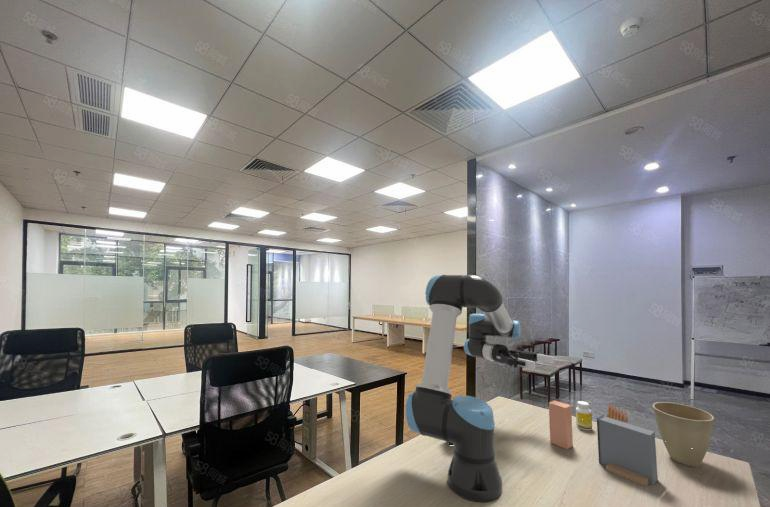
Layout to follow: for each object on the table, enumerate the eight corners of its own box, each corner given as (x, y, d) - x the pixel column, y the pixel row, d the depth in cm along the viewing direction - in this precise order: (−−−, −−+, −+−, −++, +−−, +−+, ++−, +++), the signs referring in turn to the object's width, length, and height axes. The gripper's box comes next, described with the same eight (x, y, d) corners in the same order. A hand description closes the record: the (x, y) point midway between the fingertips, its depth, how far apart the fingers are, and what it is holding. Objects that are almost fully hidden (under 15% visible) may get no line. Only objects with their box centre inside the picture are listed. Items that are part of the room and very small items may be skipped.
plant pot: (646, 455, 109) (643, 406, 111) (668, 445, 116) (665, 399, 117) (705, 479, 96) (701, 424, 97) (726, 466, 103) (722, 414, 104)
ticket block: (595, 466, 103) (593, 420, 104) (607, 457, 108) (605, 413, 109) (650, 489, 92) (647, 437, 93) (660, 477, 97) (657, 428, 98)
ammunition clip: (631, 448, 114) (629, 413, 115) (626, 448, 114) (624, 413, 115) (611, 434, 124) (610, 402, 125) (606, 434, 124) (605, 401, 125)
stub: (550, 442, 117) (548, 402, 119) (555, 439, 120) (554, 400, 121) (567, 449, 113) (565, 407, 114) (572, 446, 115) (571, 405, 116)
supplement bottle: (594, 431, 126) (593, 405, 127) (579, 430, 127) (578, 404, 128) (588, 425, 132) (587, 400, 133) (574, 424, 133) (573, 399, 133)
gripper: (513, 357, 147) (561, 367, 129) (477, 365, 132) (526, 378, 115) (512, 340, 147) (560, 348, 130) (477, 347, 133) (525, 357, 116)
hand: (544, 362), depth 123 cm, fingers open, 13 cm apart
